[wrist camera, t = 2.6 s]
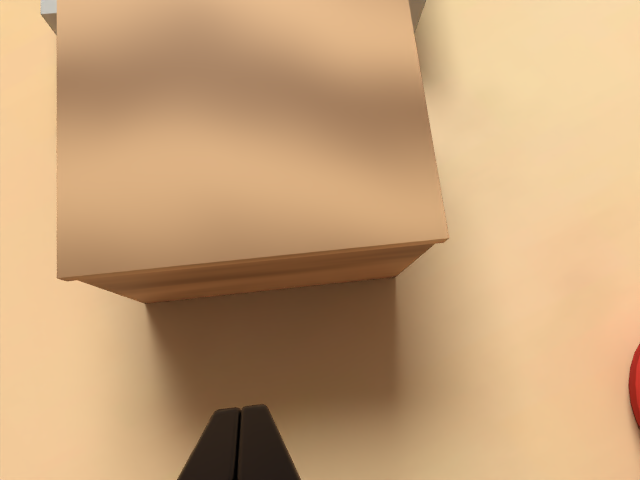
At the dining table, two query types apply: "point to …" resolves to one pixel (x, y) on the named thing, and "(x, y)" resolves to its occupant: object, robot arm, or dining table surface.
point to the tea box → (240, 145)
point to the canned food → (635, 384)
